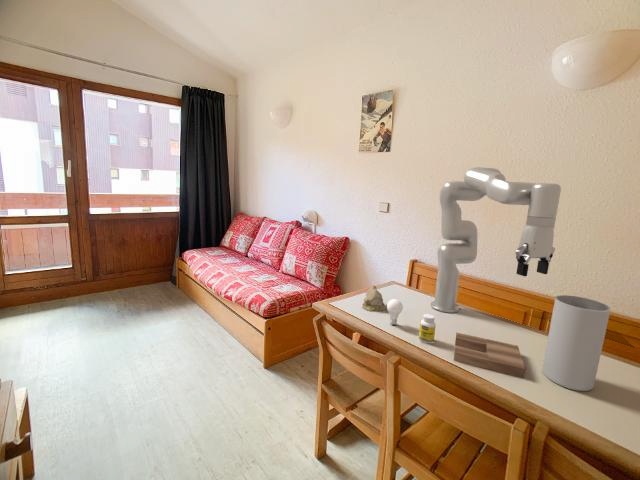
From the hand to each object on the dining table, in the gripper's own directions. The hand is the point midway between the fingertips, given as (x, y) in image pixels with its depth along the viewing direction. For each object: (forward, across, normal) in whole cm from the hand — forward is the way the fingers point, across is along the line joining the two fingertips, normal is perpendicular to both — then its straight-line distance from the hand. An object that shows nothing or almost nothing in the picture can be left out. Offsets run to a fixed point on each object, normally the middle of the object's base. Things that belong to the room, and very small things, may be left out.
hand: (531, 274), depth 101 cm
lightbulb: (+30, +27, -35) cm, 54 cm away
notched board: (+30, +11, -4) cm, 32 cm away
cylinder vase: (+30, -3, +14) cm, 33 cm away
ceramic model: (+30, +25, -55) cm, 68 cm away
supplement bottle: (+30, +23, -20) cm, 43 cm away
